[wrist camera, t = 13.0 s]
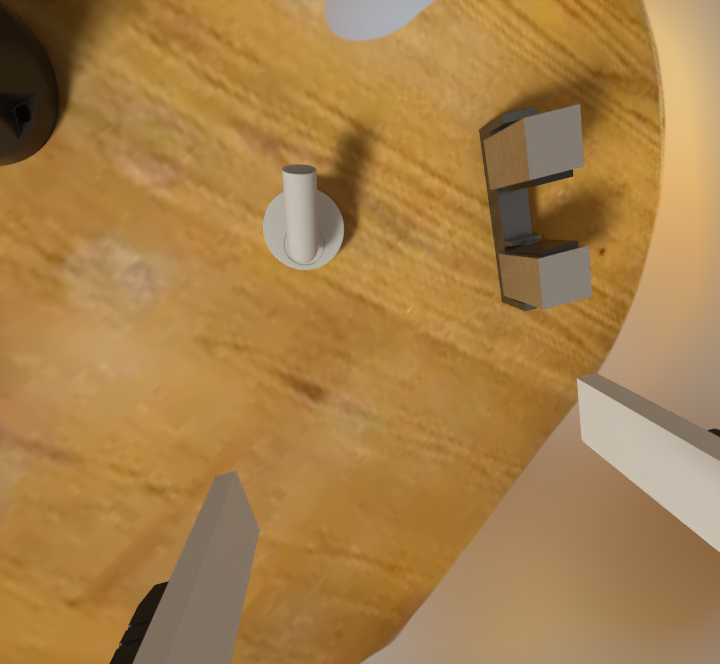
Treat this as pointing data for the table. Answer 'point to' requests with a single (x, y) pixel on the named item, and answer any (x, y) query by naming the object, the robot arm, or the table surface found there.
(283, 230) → the wall hook
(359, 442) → the table surface
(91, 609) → the table surface
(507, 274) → the light grey block
